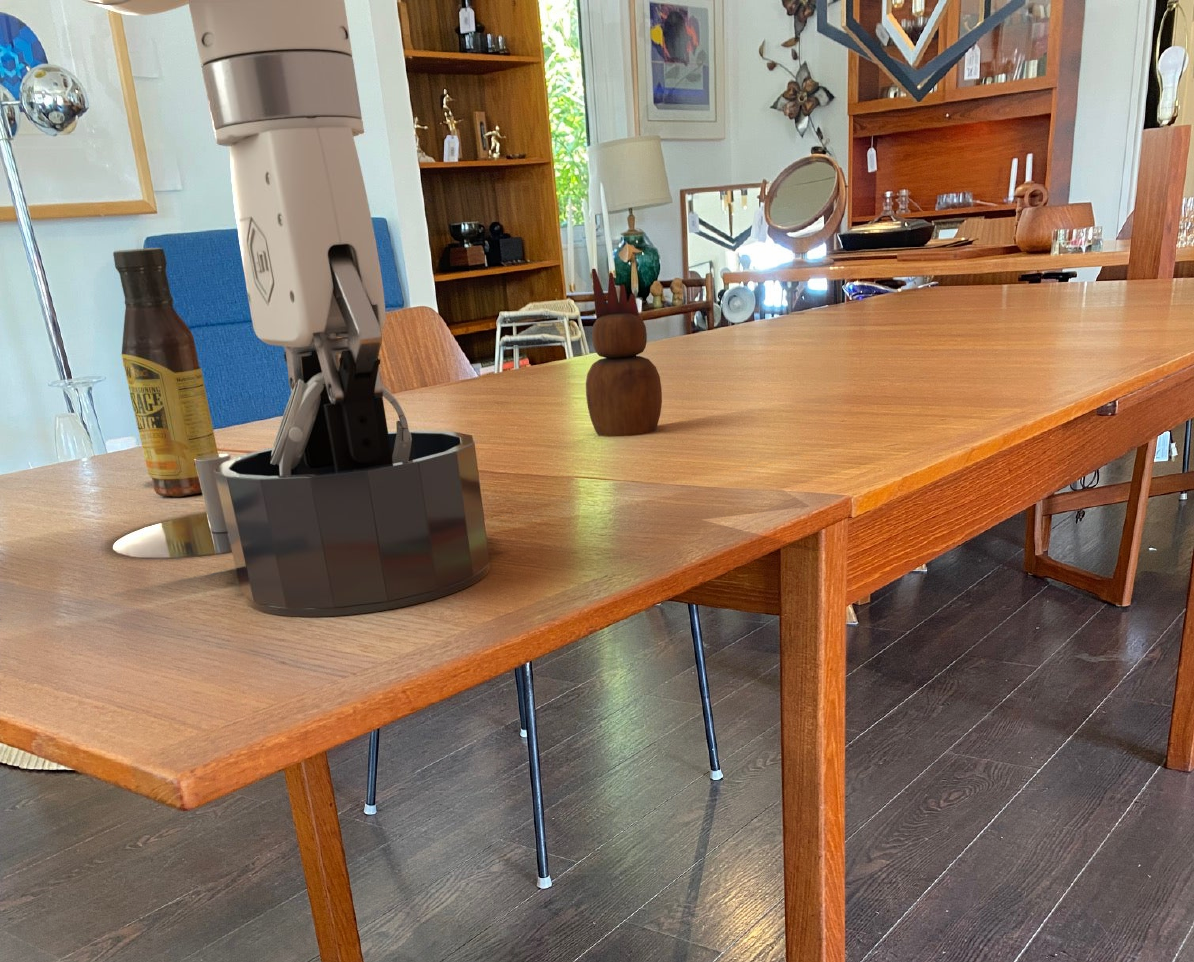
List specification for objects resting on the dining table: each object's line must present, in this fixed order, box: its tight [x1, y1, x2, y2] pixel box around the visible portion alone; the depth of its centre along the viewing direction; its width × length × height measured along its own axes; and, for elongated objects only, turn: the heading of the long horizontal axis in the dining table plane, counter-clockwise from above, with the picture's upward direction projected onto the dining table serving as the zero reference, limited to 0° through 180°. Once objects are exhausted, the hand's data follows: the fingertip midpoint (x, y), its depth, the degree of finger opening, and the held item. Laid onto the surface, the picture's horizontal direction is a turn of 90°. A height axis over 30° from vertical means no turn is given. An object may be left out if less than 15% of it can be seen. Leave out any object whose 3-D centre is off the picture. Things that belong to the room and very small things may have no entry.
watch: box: [270, 370, 412, 476], centre depth 67 cm, size 6×8×11 cm
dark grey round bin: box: [214, 429, 491, 618], centre depth 68 cm, size 15×15×8 cm
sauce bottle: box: [112, 247, 219, 498], centre depth 100 cm, size 6×6×20 cm
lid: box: [112, 453, 232, 560], centre depth 81 cm, size 16×16×6 cm
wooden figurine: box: [585, 268, 663, 437], centre depth 105 cm, size 7×6×15 cm
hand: (348, 466), depth 67 cm, fingers closed on watch, 5 cm apart
